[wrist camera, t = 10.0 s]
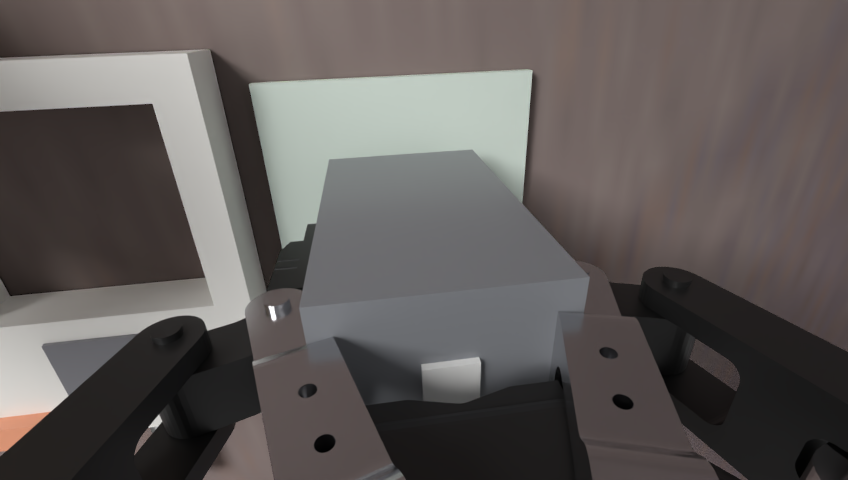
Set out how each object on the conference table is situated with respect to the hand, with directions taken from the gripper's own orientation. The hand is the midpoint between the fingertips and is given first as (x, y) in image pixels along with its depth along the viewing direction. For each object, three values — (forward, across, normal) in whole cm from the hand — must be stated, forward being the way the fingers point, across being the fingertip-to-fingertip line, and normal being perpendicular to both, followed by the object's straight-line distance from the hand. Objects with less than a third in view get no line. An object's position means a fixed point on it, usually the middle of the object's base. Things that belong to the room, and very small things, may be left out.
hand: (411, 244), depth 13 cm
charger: (+2, 0, 0) cm, 2 cm away
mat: (+3, 0, 0) cm, 3 cm away
